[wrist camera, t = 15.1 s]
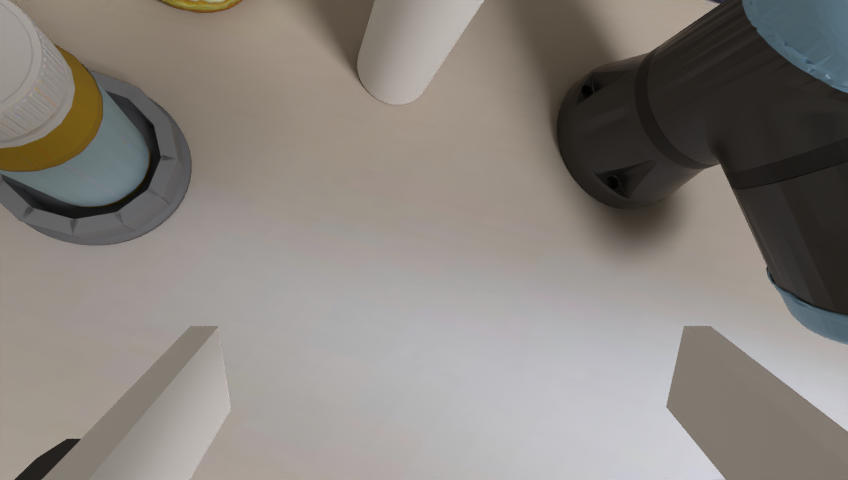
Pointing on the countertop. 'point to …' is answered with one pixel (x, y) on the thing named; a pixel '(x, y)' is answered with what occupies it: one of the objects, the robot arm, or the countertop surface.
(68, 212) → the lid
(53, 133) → the bottle
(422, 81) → the spray bottle
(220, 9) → the decorated donut
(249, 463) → the countertop surface
